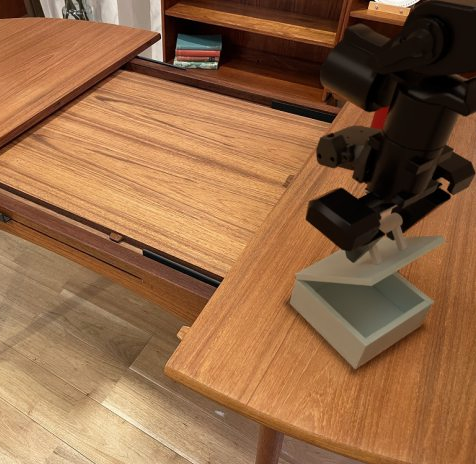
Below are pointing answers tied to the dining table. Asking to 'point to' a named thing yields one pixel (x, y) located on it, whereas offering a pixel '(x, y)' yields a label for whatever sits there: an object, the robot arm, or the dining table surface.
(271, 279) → the dining table surface
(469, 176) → the robot arm
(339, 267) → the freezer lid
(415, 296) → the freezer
